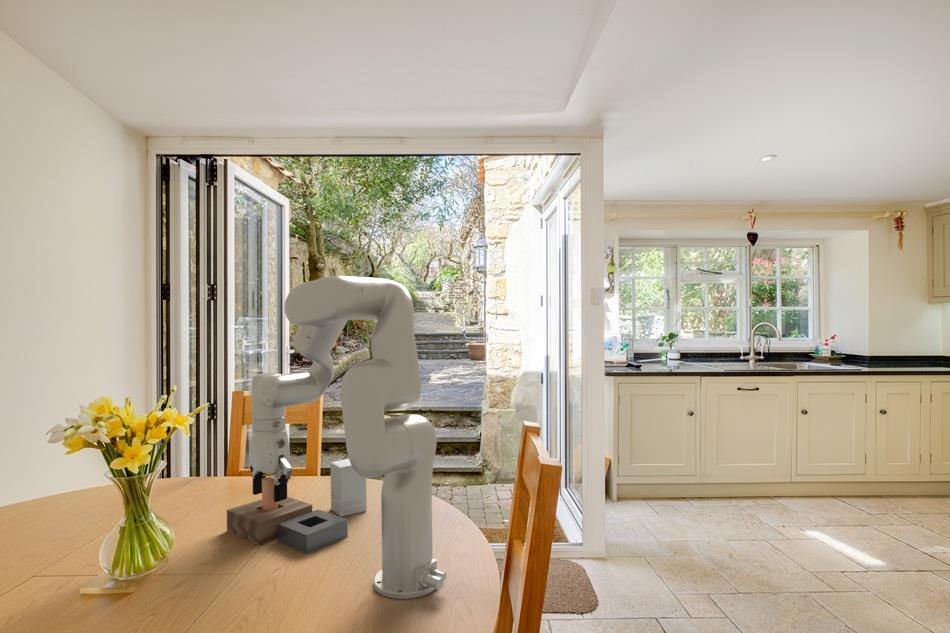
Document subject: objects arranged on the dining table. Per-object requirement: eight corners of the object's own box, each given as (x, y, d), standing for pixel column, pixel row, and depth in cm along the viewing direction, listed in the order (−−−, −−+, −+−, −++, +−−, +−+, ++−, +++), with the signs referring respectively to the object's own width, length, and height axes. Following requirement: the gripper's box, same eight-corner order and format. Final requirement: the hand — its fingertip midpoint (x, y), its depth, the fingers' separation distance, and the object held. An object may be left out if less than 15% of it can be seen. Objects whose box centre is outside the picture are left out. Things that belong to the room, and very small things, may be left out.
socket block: (312, 525, 130) (312, 504, 130) (259, 545, 118) (259, 522, 118) (279, 513, 138) (279, 494, 138) (226, 530, 127) (226, 509, 127)
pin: (281, 527, 128) (280, 477, 129) (267, 532, 126) (267, 481, 126) (272, 524, 131) (272, 475, 131) (259, 528, 128) (258, 478, 128)
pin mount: (347, 536, 122) (347, 519, 122) (306, 553, 114) (306, 535, 114) (318, 526, 129) (317, 509, 129) (277, 541, 120) (277, 523, 120)
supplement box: (367, 511, 139) (366, 462, 139) (339, 517, 135) (339, 467, 135) (356, 503, 145) (356, 457, 145) (330, 509, 141) (329, 461, 141)
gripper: (304, 426, 126) (304, 499, 126) (263, 418, 137) (263, 486, 136) (275, 431, 120) (276, 508, 120) (235, 423, 131) (235, 494, 130)
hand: (269, 496), depth 128 cm, fingers open, 8 cm apart
